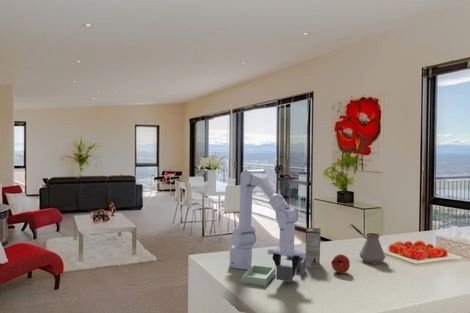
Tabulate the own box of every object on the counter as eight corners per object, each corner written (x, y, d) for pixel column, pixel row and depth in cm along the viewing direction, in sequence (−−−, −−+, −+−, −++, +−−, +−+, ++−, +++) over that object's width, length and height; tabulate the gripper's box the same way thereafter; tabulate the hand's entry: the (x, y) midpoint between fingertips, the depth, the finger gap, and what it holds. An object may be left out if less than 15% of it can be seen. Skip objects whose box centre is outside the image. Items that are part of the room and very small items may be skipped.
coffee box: (305, 261, 192) (306, 227, 191) (319, 262, 190) (320, 228, 190) (304, 267, 183) (305, 231, 182) (319, 268, 181) (320, 232, 181)
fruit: (327, 272, 175) (327, 254, 175) (336, 268, 181) (337, 250, 181) (344, 277, 170) (344, 258, 170) (353, 272, 176) (353, 254, 176)
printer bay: (282, 273, 173) (283, 259, 172) (287, 268, 180) (287, 254, 180) (302, 276, 170) (302, 261, 170) (305, 270, 178) (305, 256, 177)
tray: (241, 283, 160) (241, 275, 160) (253, 271, 175) (253, 264, 175) (265, 286, 157) (265, 278, 157) (275, 274, 172) (275, 267, 171)
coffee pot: (390, 263, 191) (391, 231, 190) (371, 266, 186) (372, 233, 185) (358, 252, 210) (359, 223, 210) (340, 254, 205) (341, 224, 205)
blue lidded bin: (276, 279, 158) (276, 264, 158) (282, 272, 168) (283, 258, 168) (292, 281, 156) (292, 266, 156) (297, 274, 166) (298, 260, 166)
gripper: (266, 239, 158) (265, 274, 158) (303, 243, 153) (302, 279, 153) (270, 236, 164) (269, 269, 165) (307, 239, 159) (306, 274, 160)
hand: (286, 274), depth 159 cm, fingers closed on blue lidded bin, 5 cm apart
